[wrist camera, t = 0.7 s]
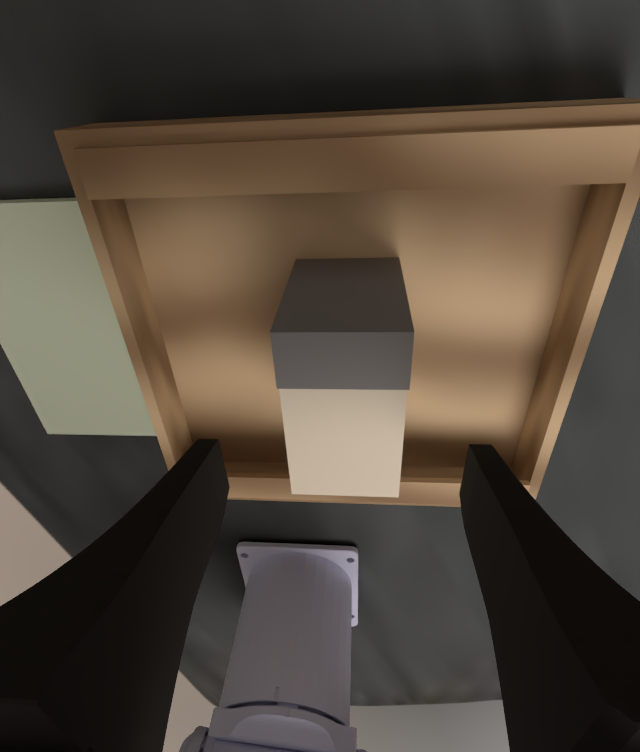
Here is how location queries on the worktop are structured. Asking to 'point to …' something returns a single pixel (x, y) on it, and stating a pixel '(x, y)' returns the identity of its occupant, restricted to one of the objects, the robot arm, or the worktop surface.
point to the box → (344, 374)
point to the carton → (363, 240)
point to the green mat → (64, 323)
